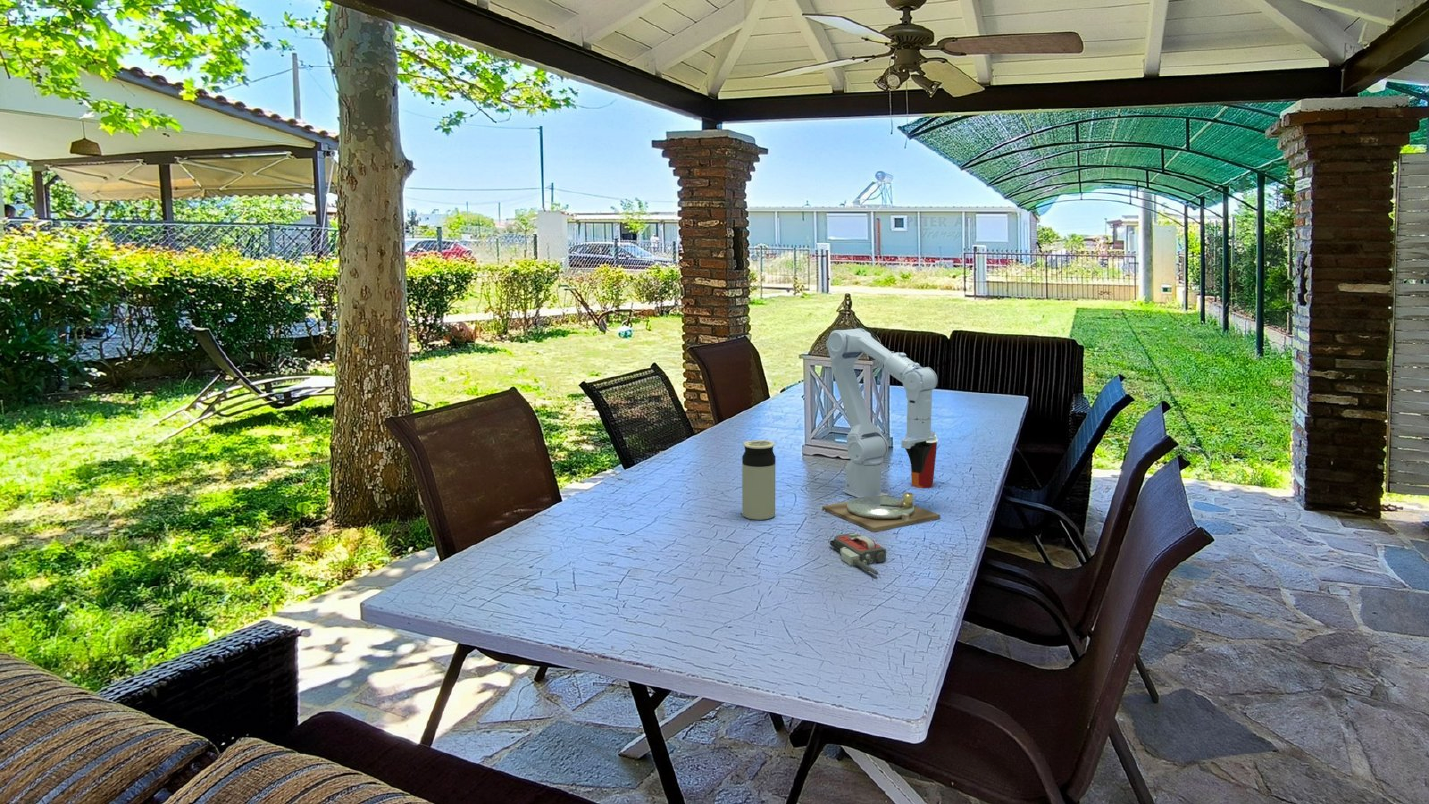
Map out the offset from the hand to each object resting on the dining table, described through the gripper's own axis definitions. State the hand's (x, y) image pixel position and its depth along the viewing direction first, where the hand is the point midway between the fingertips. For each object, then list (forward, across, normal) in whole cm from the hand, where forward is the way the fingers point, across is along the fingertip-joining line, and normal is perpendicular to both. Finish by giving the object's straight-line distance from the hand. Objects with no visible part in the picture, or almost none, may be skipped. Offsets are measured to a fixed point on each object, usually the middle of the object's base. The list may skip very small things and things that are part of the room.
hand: (917, 472), depth 214 cm
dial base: (+10, -9, +5) cm, 14 cm away
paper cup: (+10, +22, +8) cm, 25 cm away
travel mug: (+10, -28, +28) cm, 41 cm away
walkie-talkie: (+10, -40, -7) cm, 41 cm away
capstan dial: (+8, -9, +5) cm, 13 cm away
